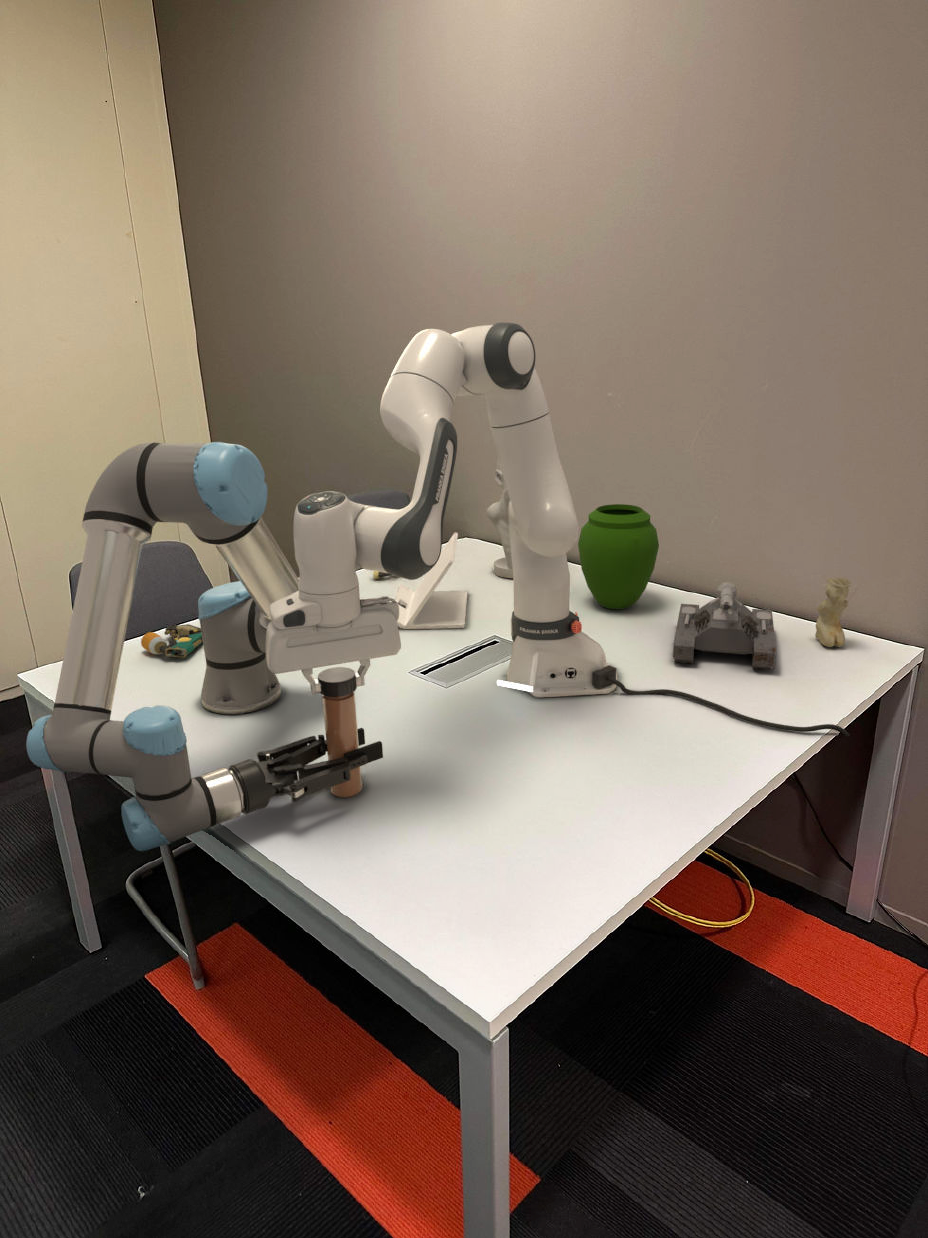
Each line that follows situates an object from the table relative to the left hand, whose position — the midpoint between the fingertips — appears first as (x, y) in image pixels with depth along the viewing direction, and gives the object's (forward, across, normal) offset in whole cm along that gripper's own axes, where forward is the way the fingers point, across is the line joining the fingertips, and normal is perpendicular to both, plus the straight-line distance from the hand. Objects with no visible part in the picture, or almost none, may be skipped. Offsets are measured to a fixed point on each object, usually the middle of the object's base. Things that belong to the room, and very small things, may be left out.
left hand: (372, 742), depth 138 cm
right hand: (-5, 0, +11) cm, 12 cm away
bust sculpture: (+88, -67, -6) cm, 111 cm away
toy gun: (+63, -94, -6) cm, 114 cm away
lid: (-5, 0, +13) cm, 14 cm away
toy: (+87, +1, -7) cm, 88 cm away
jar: (-5, 0, -7) cm, 8 cm away
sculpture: (+107, +14, -7) cm, 108 cm away
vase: (+90, -34, -6) cm, 96 cm away
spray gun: (-6, -78, -6) cm, 78 cm away
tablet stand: (+51, -60, -6) cm, 79 cm away
